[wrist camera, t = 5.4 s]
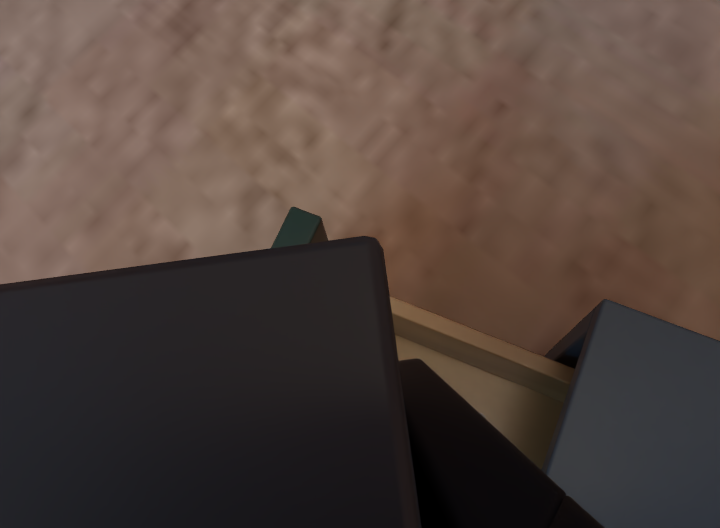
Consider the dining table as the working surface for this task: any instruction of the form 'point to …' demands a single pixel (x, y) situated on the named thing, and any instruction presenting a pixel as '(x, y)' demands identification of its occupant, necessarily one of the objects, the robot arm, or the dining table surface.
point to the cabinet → (639, 421)
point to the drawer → (470, 361)
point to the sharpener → (207, 395)
